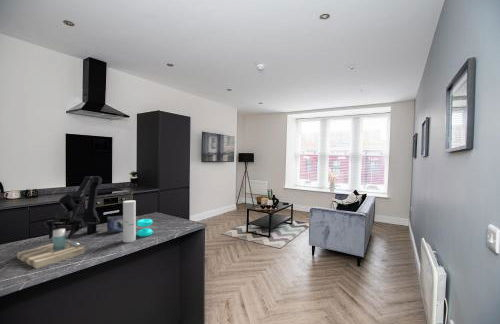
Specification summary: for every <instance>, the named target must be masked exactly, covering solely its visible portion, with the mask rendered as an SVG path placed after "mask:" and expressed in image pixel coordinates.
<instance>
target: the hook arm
mask: <svg viewBox="0 0 500 324" xmlns="http://www.w3.org/2000/svg"><path fill="white" fill-rule="evenodd" d="M66 243H69V245H73V247H75V246H77V247H79V246H81V244H80V243H78V242H75V241H73V240H70V239H68V238H66Z"/></svg>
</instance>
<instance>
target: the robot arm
mask: <svg viewBox="0 0 500 324" xmlns="http://www.w3.org/2000/svg"><path fill="white" fill-rule="evenodd" d="M102 182H103V178H102V177H101V176H99V175H96V176H94V175H92V176H84V178H83V181H82V182H81V183H80V185H79V187H78V189H77V190H76V191H75V192H73V193H72V194H69V193H68V194H65V195H64V196H62V197H61V198H60V199H58V200H59V201H58V202H59V204H60V205H61V206H62V208H63V209H65V211H64V212H63V211H61V212H56V214H55V219H58V222H56V220H55V219H52V220H51V219H50V220H46V221H44V224H43V226H44V227H46V228H47V229H48V239H49V240H51V239H53V230H55V229H58V227H71V228H70V231H69V234H68V236H67V239H70V238H71V237H73V235H75V234H76V233H77V232H79V231H80V230H82V229H85V228H86V231H85V232H83V234H86V235H93V234H96V233H99V230H97V225H100V221H101V220H100V218H99V216H98V212H97V210H96V206H97V197H98V192H99V191H98V190H99V188H100V187H101V186H102ZM86 193H88V199H87V207H86V210H85V211H83V212H82V217H81V219H77V214H78V211H79V212H80V211H81V209H80V206H79V205H83V204H84V203H85V201H86Z"/></svg>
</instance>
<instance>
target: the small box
mask: <svg viewBox="0 0 500 324" xmlns="http://www.w3.org/2000/svg"><path fill="white" fill-rule="evenodd" d="M106 221H107V223H106V224H107V225H106V229H107V230H106V231H107V232H106V234H107V235H108V234H118V233H123V215H115V216H107V220H106Z"/></svg>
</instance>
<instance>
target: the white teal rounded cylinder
mask: <svg viewBox="0 0 500 324" xmlns="http://www.w3.org/2000/svg"><path fill="white" fill-rule="evenodd" d="M66 234H67V233H66V228H56V229H55V230H53V237H52V244H53V252H52V253H55V252H58V251H62V250H65V249H67V248H66V239H67V235H66Z"/></svg>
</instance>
